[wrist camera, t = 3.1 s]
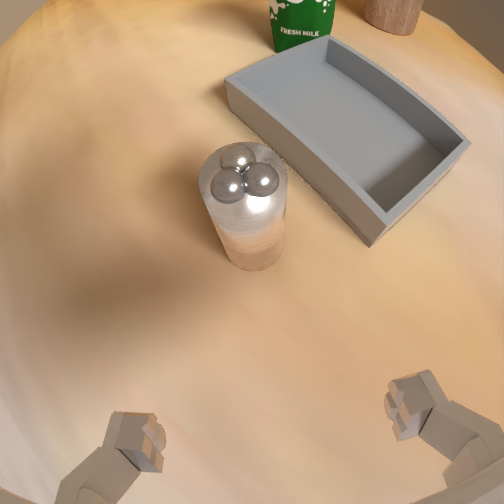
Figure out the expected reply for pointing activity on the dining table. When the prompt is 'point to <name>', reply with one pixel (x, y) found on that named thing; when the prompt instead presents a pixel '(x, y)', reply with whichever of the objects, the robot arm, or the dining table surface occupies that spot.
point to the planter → (393, 15)
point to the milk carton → (300, 21)
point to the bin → (348, 130)
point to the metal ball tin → (246, 202)
